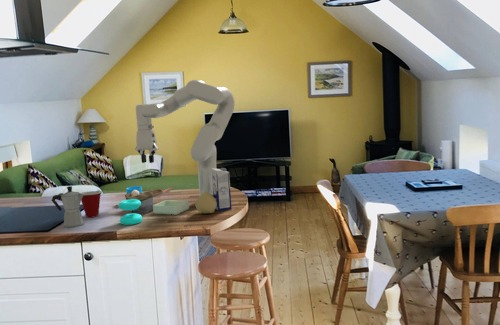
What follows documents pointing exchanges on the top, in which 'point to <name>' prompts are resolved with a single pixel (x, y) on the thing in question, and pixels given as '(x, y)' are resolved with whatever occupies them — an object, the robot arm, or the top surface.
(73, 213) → the coffee maker
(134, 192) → the ball
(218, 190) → the milk carton
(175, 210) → the tray
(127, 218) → the donuts
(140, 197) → the chute
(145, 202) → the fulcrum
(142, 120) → the robot arm
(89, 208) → the plastic cup
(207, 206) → the yellow rounded lump
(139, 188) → the mug
